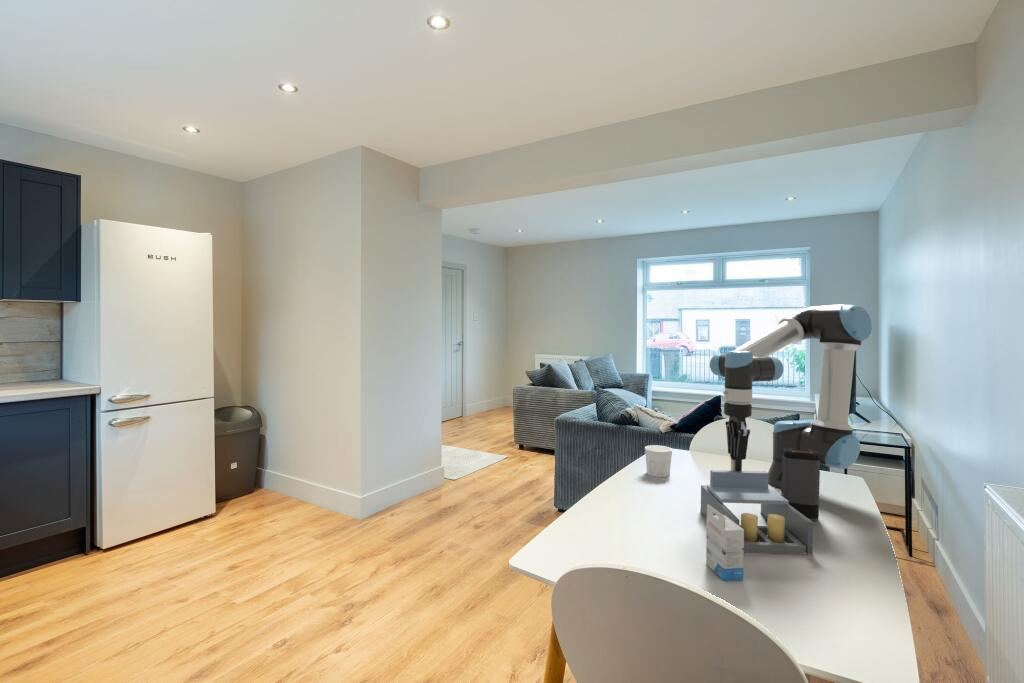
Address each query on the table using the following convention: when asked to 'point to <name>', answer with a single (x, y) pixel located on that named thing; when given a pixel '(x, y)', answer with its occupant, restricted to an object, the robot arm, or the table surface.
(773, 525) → the cylinder
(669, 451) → the cup
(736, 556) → the ink box
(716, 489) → the lid
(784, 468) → the electronic device
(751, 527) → the peg
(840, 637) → the table surface
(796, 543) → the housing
